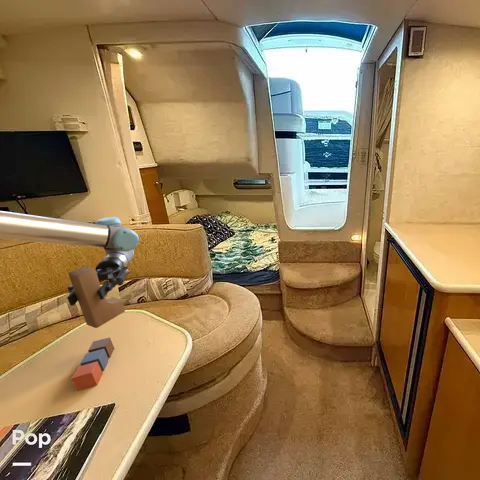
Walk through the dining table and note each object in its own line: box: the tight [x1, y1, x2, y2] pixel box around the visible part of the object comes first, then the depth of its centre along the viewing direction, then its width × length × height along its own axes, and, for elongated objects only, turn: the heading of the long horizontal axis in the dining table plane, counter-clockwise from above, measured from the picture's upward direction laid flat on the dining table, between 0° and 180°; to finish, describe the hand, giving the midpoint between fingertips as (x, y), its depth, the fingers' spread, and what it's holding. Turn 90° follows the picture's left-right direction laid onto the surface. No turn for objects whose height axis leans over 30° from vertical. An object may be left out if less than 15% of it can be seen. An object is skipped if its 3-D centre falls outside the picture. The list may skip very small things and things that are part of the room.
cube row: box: [70, 336, 115, 392], centre depth 78 cm, size 15×4×4 cm, turn 22°
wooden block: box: [67, 266, 126, 329], centre depth 80 cm, size 9×4×18 cm, turn 161°
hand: (85, 298), depth 76 cm, fingers closed on wooden block, 6 cm apart
